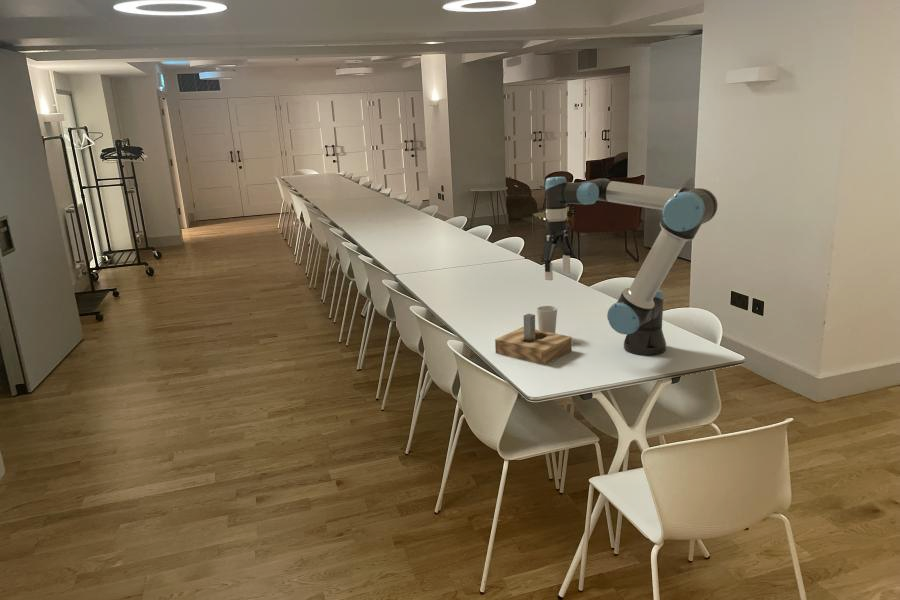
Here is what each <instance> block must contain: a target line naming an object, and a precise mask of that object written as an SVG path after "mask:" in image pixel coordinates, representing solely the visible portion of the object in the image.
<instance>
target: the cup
mask: <svg viewBox="0 0 900 600" xmlns="http://www.w3.org/2000/svg"><path fill="white" fill-rule="evenodd" d="M536 313H537V314H536V315H537V327H538V330H541V331H546V332H551V333H556V330H557V329H556V328H557V315H558V308H557V307H556V306H553V305H542V306H538V307H536Z"/></svg>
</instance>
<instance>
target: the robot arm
mask: <svg viewBox="0 0 900 600" xmlns="http://www.w3.org/2000/svg"><path fill="white" fill-rule="evenodd" d="M544 192H545V214H546V215H545V216H546V231H547V232H549V235H548V234H547V235H545V236H544V244H543V248H542V253H541V257H540V259H541V260H540V262H542V263H544V280H546V281H553V280H554V279H553V278H554V276H553V275H554V273H553V272H554V271H553V262H552V260H553V256H554V254H555V251H556V249H557V248H558V247H560V249H561V250H560V251H562V254H563V255H562V273H566V274H570V273H571V256H573V255H574V254H573V252H574V249H573V246H572V241H571V238H570V233H569V230H568V220H567V219H568V209H567V208H568V206H567V205H584V206H586V205H593V204H595V203H596V202H597V201H602V202H609V203H615V204H620V205H628V206H634V207H640V208H645V209H646V208H648V209H652V210H658V211H659V210H660V211H662V218H661V220H660V222H659V226H660V228H661V230H660V232H659V234H658V236H657V238H656V239H655V241H654V242H653V244H652V247H651V249H650V250H649V252H648V254H647V255H646V257H645V259H644V261H643V262H642V265H641V266H640V269H639V271H638V272H637V274H636V276H635V277H634V279H633V280H632V283H631V285H630V287H627V288H624V289H623V290H622V292H621V294H620V296H619V297H618V299H617V301H616V302H615V303H613V304H612V305H610V307H609V308H608V310H607V318H606V319H607V321H608V324H609V325H610V328H612V330H613V331H615V332H616V333H619V334H620V335H625V339H624V340H623V349H624V350H625V351H626V352H628V353H630V354H634V355H640V356H655V355H660V354H663V353H665V352H666V351H667V342H666V338H665V335H664V331H663V314H664V313H663V312H664V292H663V291H662V290H661V289H660V287H661V286H662V284H663V282H664V280H665V279H666V277H667V275H668V274H669V272H670V270H671V269H672V267H673V265H674V263H675V261H676V260H677V258H678V256H679V255H680V253H681V251H682V249H683V247H684V245H685V244H686V242H688V241H689V242H690V241H692V240H694V238H695V237H696V235H697V234H698V232H699V230H700V228H701V227H702V225H703V224H706V223H707V222H710V221H711V220H712V219H713V218H714V217H715V215H716V214H717V210H718V200H717V198H716V196H715V195H714V193H713V192H711V191H710V190H709V189H706V188H698V187H697V188H695V187H694V188H693V187H686V186H685V187H684V186H683V187H681V188H679V189H678V188H677V189H675V188H667V187H660V186H653V185H652V186H651V185H646V184H638V183H637V184H636V183H628V182H621V181H617V180H615V181H613V180H610V179H608V178H599V177H598V178H596V179H590V180H586V181H582V182H581V181H580V182H567V178H566V177H565V176H551V177H547V178H546V179H545V189H544Z"/></svg>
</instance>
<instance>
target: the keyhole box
mask: <svg viewBox="0 0 900 600" xmlns="http://www.w3.org/2000/svg"><path fill="white" fill-rule="evenodd" d="M572 339H573V337H572V336H569V335H565V334H559V333H556V332H555V333H551V332H546V331H541V330H539V329H536V328H535V341H533V342H531V343H527V342H524V326H522V327H519V328H518V329H515V330H512V331H510V332H508V333H506V334H503V335H502V336H500V337H497V338H495V339H494V340H495V341H494V342H495V343H494V344H495V345H494V346H495V347H494V348H495V354H498V355H503V356H506V357H511V358H513V359H514V358H515V359H517V360H523V361H527V362H531V363H535V364H540V365H544V366H546V365H548V364H550V363H551V362H553V361H555V360H557V359H558V358H561V357H563V356H564V355H566V354H568V353H570V352H571V351H572V350H573V347H572V345H573V343H572V341H573V340H572Z"/></svg>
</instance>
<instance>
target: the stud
mask: <svg viewBox="0 0 900 600" xmlns="http://www.w3.org/2000/svg"><path fill="white" fill-rule="evenodd" d="M523 327H524V342H527V343H531V342H533V341H535V329H536V315H535V314H534V313H533V314H531V313H527V314H524V315H523Z"/></svg>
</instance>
